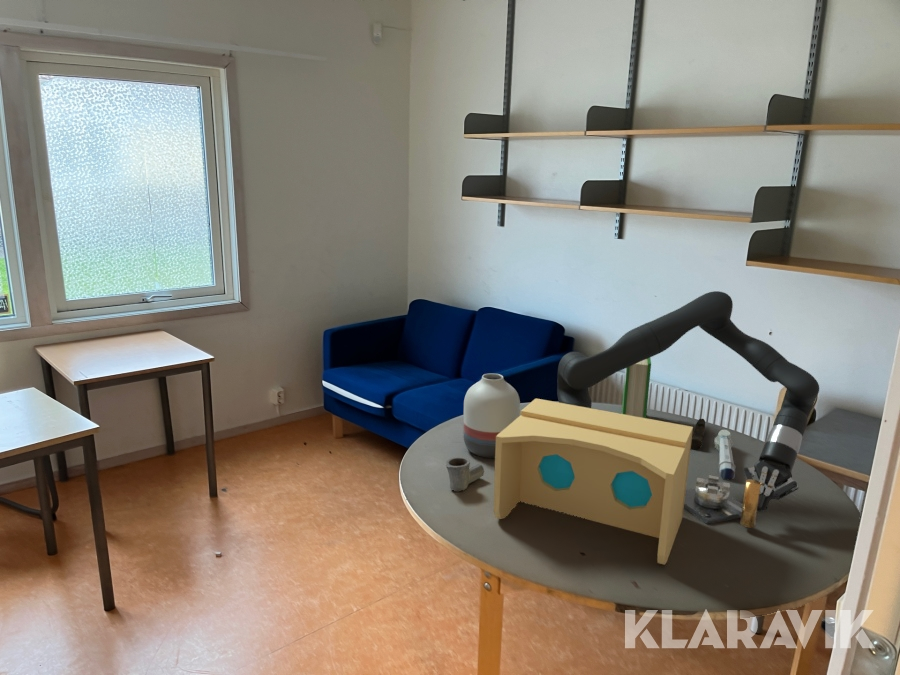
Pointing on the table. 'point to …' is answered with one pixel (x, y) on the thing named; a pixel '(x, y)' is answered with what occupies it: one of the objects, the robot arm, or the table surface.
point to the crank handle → (718, 494)
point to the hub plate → (709, 509)
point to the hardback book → (636, 389)
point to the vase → (488, 413)
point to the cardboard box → (595, 468)
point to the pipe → (462, 473)
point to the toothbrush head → (725, 454)
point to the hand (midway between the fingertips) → (758, 510)
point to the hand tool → (698, 435)
